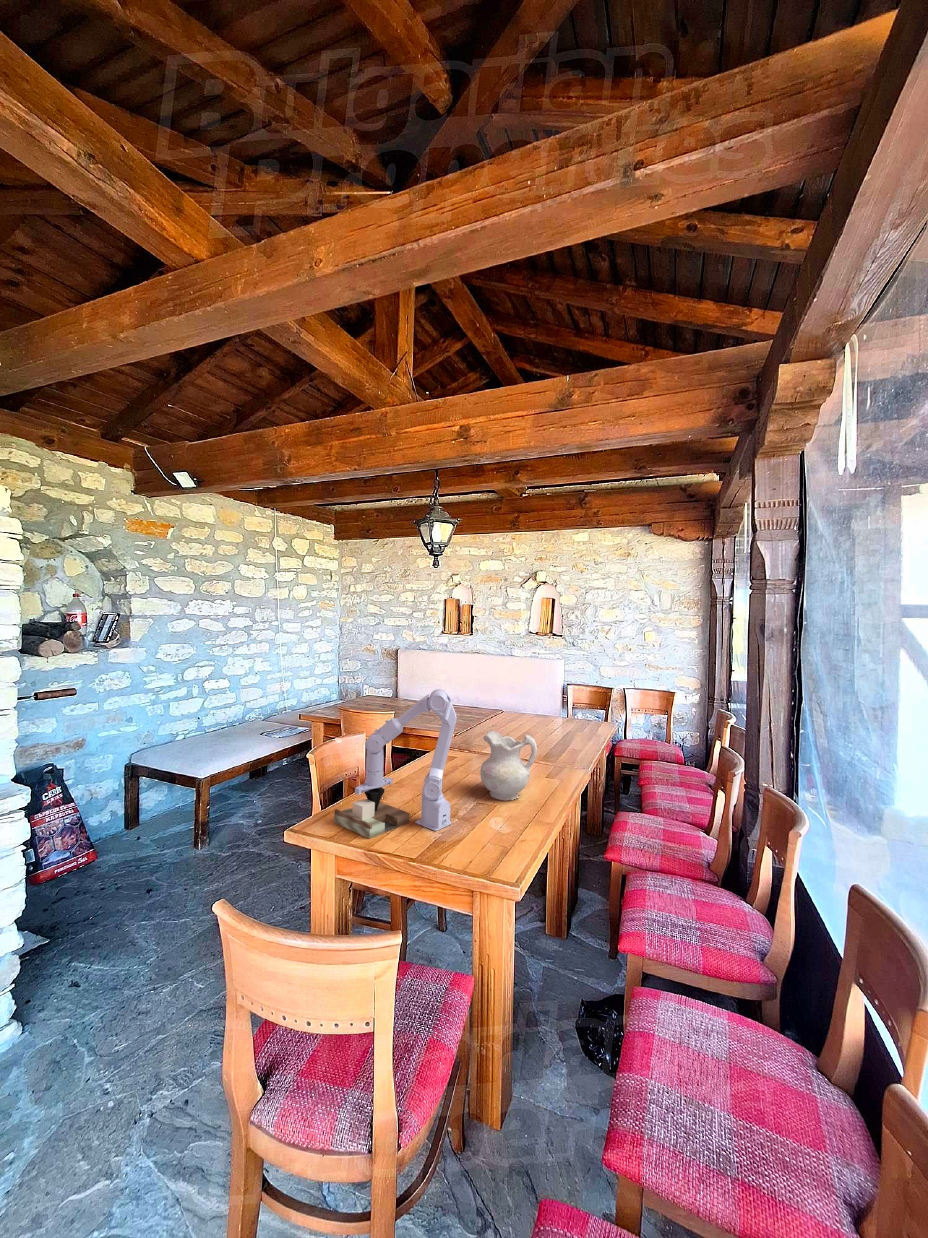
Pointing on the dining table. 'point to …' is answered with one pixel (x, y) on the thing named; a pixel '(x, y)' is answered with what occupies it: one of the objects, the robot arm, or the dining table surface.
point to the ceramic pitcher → (506, 766)
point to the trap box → (373, 820)
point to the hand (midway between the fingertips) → (373, 810)
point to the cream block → (363, 809)
